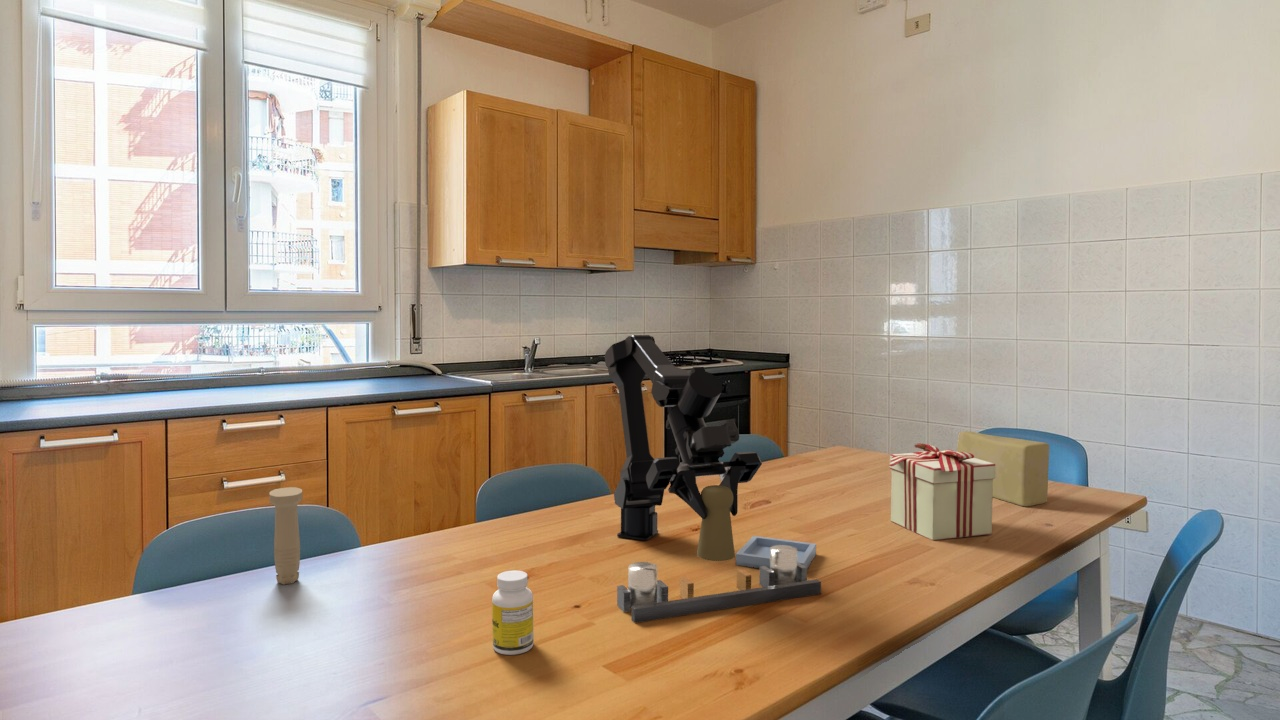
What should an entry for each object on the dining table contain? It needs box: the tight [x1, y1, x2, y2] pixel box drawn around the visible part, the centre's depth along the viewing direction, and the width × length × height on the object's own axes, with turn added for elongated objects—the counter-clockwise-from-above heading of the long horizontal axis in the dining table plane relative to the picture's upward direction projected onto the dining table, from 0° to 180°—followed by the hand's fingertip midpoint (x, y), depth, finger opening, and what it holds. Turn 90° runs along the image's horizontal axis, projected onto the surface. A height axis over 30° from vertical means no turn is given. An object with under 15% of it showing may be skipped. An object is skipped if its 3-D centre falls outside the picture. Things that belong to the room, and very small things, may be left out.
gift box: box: [888, 442, 996, 541], centre depth 155 cm, size 17×18×17 cm
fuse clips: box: [616, 545, 822, 624], centre depth 116 cm, size 8×32×6 cm, turn 112°
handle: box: [269, 486, 303, 585], centre depth 122 cm, size 5×6×15 cm
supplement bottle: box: [491, 570, 534, 656], centre depth 99 cm, size 5×5×10 cm
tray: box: [735, 535, 817, 569], centre depth 135 cm, size 12×12×2 cm
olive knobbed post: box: [696, 484, 736, 562], centre depth 117 cm, size 6×6×11 cm
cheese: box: [956, 430, 1050, 508], centre depth 185 cm, size 22×10×15 cm, turn 30°
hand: (720, 516), depth 116 cm, fingers closed on olive knobbed post, 5 cm apart
